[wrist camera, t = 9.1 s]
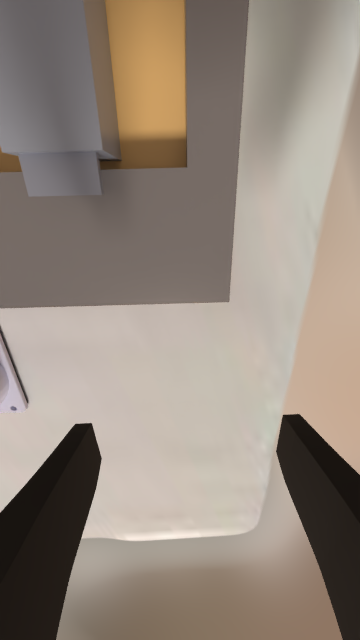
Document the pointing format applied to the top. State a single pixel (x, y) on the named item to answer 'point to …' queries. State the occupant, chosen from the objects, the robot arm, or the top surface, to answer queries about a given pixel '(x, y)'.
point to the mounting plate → (143, 172)
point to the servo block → (57, 94)
